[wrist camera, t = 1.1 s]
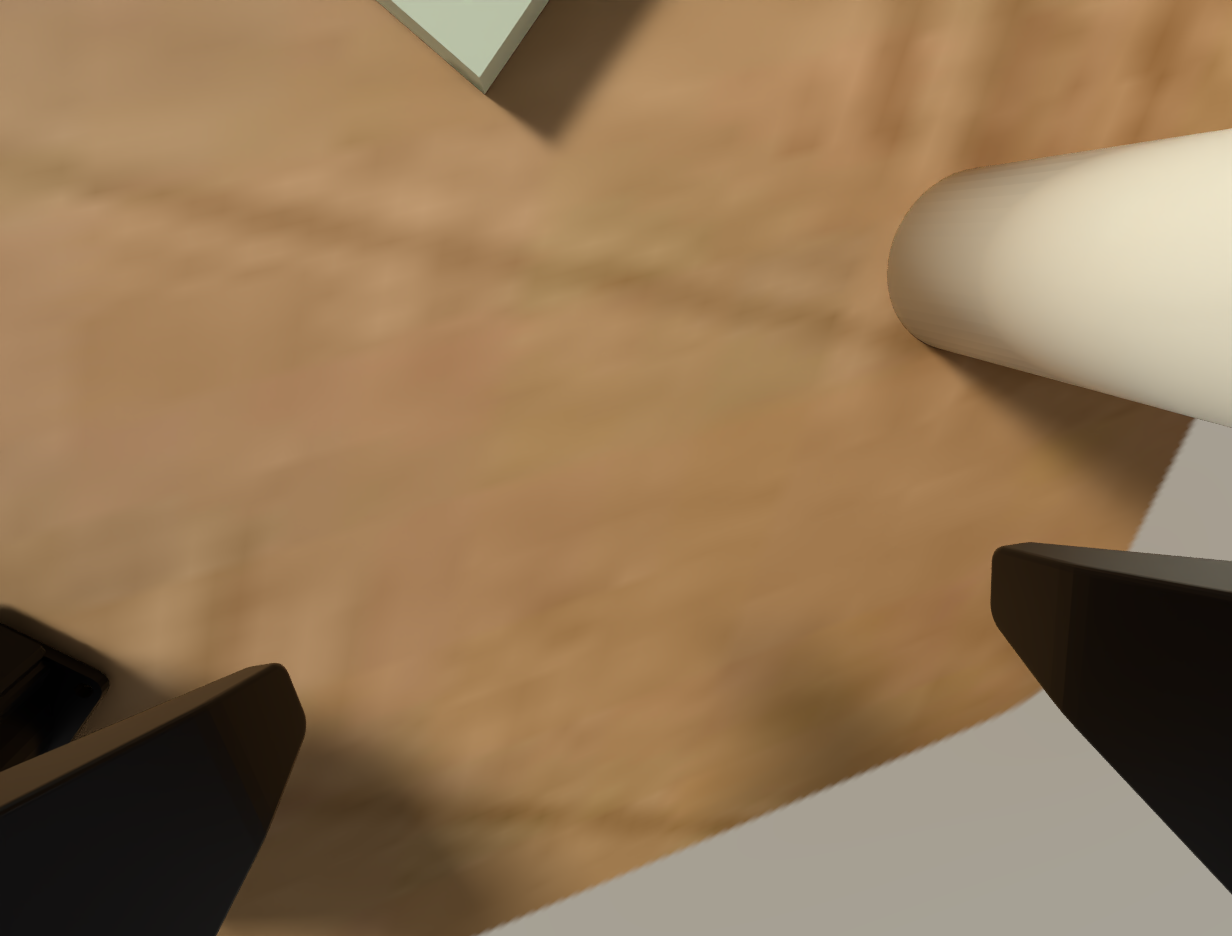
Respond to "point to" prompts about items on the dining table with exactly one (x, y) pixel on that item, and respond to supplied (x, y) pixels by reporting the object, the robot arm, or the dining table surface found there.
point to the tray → (469, 31)
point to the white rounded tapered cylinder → (1083, 270)
